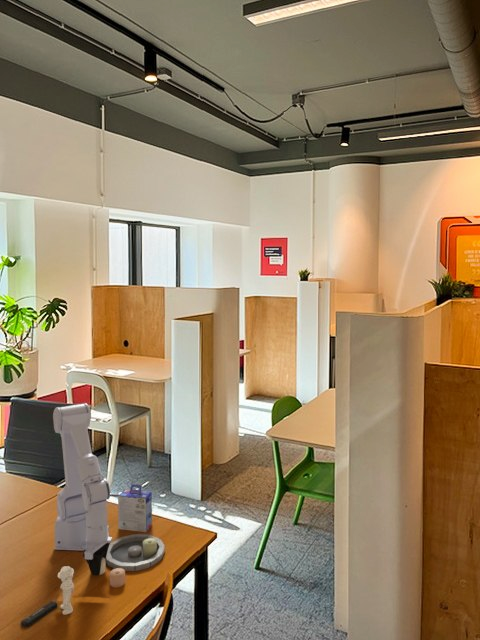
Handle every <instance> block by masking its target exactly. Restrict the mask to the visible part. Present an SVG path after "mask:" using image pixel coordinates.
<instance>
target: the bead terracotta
mask: <svg viewBox="0 0 480 640" xmlns="http://www.w3.org/2000/svg"><path fill="white" fill-rule="evenodd" d="M125 584H126V571H125V570H124V569H122V568H116V569H114V568H112V570H111V571H110V572H109V585H110V587H112V588H116V589H117V588H121V587H123V586H124V585H125Z"/></svg>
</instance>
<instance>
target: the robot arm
mask: <svg viewBox="0 0 480 640" xmlns="http://www.w3.org/2000/svg"><path fill="white" fill-rule="evenodd" d="M91 418H92V412H91V407H90V405H89V404H88V403H87V402H83V403H78V404H73V405H67V406H57V407H55V408H54V410H53V413H52V419H53V421H52V422H53V430H54V432H55V433H56V434H60V437H61V446H62V447H61V448H62V457H63V470H64V479H65V480H64V481H65V482H64V483H65V486H64V487H63V488H62V489H61V490H60V491H58V492H57V494H56V495H57V496H56V512H57V513H56V514H57V517H56V520H55V522H54V550H55V551H56V550H58V551H61V550H62V551H79V552H80V551H83V552H82V557H83V558H84V560H85V561H86V563H87V565H88V568H89V571H90V573H91V576H100V575H99V574H100V569H101V561H102V557H104V558H105V562H106V556H107V551H108V548H109V545H110V543H112V542H113V537H112V536H109V533H110V525H109V524H108V501H107V500H109V499H110V498H111V488H110V484H109V482H108V480H107V478H106V476H105V475H103V473H102V469H101V465H100V462H99V459H98V456H96V455H94V454H93V451H92V446H91V441H90V436H89V427H90V424H91ZM106 563H107V562H106Z"/></svg>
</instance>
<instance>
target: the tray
mask: <svg viewBox="0 0 480 640" xmlns="http://www.w3.org/2000/svg"><path fill="white" fill-rule="evenodd" d="M148 538H153V539H156V541H157V554H156V555H154V556H153V557H151V558H145V557H144V556H143V541H144V540H145V539H148ZM165 552H166V545H165V544H164V542H163V541H162V539H161V538H159V537H157V536H154V535H151V534H145V533H143V534H142V533H134V534H129V535H125V536H121V537H119V538H117V539H115V540H112V541H111V542H110V545H109V548H108V551H107V556H106V564H107V566H108V567H111V568H112V569H116V568H122V569H124V570H125V572H136V571H141V570H142V571H143V570H145V569H149V568H151V567H154V566H155V565H156V564H158V562H160V561H162V559H163V557H164V555H165Z"/></svg>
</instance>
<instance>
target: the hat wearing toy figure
mask: <svg viewBox="0 0 480 640" xmlns="http://www.w3.org/2000/svg"><path fill="white" fill-rule="evenodd" d="M74 573H75V570H74V568H72V567H71V566H69V565H67V566H65V565H64V566H61V569H60V571H59V572H58V573H57V578H58V579H60V580H61V584H60V587H59V588H60V590H62V603H63V604H60V606H59V607H60V609H61V610H62V612H61V613H62V615H65V616H66V615H69V614H72V613H73V611H74V610H73V606H72V605H71V600H72V599H71V597H72V594H74V588H75V583H74V582H73V577H74Z"/></svg>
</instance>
